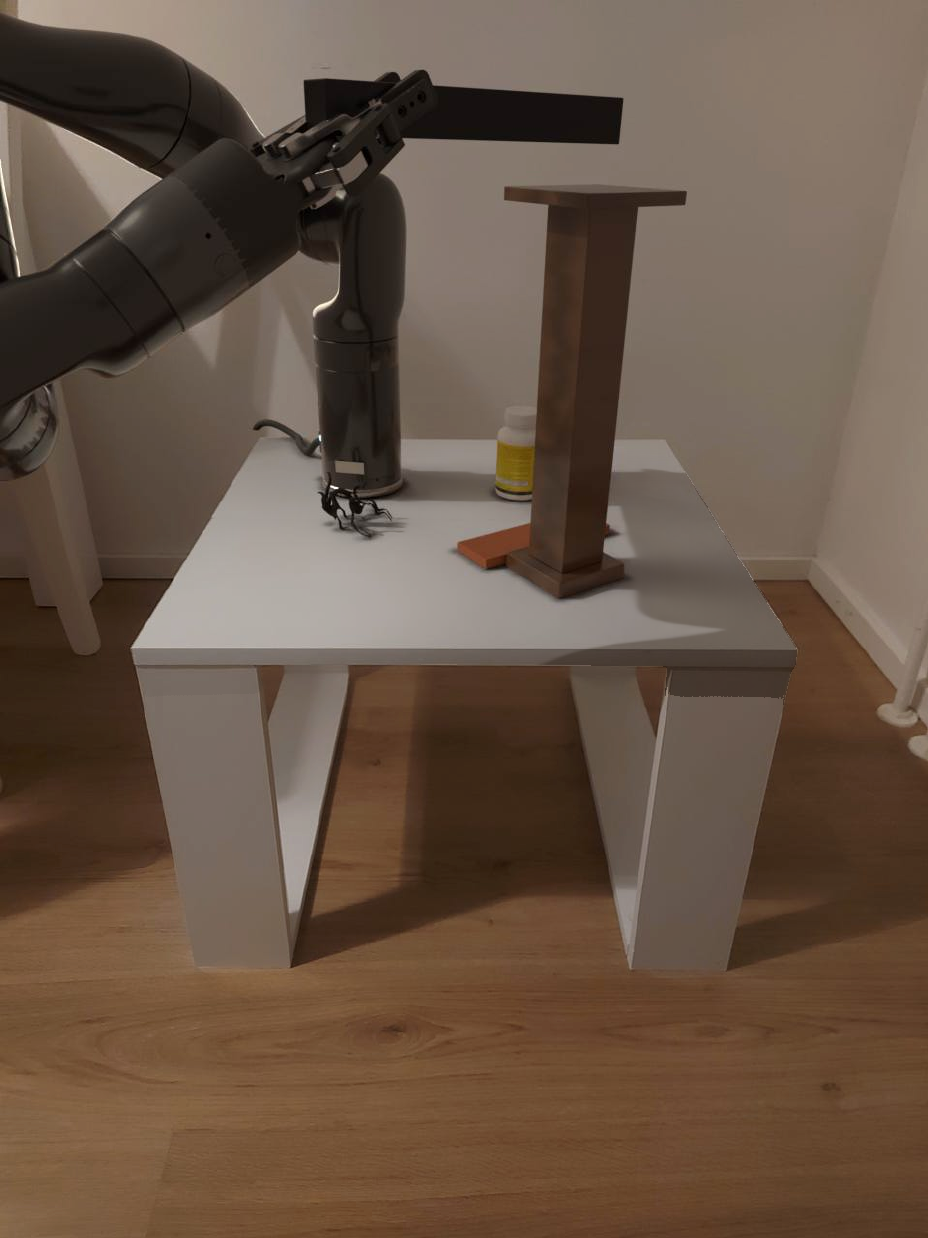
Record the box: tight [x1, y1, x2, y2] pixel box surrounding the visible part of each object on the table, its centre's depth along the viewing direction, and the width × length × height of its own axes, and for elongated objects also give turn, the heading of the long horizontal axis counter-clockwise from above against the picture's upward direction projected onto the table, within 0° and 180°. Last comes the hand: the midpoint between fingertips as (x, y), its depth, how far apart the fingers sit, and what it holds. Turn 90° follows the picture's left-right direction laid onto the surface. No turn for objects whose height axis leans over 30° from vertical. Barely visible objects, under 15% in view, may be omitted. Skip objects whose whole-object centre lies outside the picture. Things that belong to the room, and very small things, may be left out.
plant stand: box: [503, 183, 688, 599], centre depth 75 cm, size 10×10×33 cm
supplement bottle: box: [494, 405, 537, 501], centre depth 99 cm, size 5×5×10 cm
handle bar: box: [303, 77, 624, 145], centre depth 59 cm, size 3×24×3 cm
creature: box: [317, 472, 393, 538], centre depth 92 cm, size 8×5×8 cm
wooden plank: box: [456, 522, 611, 570], centre depth 89 cm, size 5×16×1 cm, turn 124°
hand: (413, 86), depth 56 cm, fingers closed on handle bar, 3 cm apart
